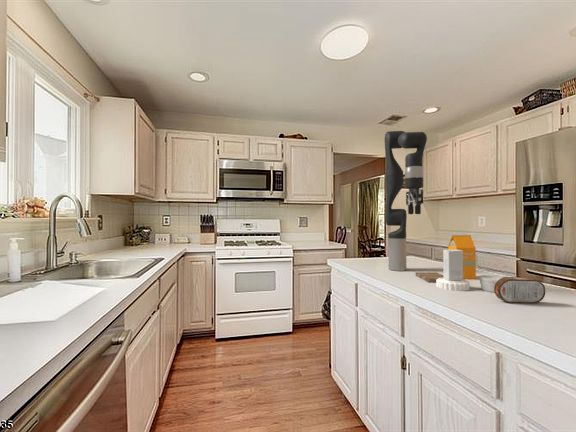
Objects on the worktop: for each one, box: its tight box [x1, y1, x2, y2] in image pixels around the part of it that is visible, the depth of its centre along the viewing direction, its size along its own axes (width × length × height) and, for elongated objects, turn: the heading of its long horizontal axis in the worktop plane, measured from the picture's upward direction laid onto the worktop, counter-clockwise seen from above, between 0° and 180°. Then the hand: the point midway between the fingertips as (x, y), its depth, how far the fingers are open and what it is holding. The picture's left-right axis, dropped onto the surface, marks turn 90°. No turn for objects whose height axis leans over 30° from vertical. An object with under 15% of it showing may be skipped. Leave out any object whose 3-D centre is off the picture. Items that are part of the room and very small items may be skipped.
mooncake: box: [435, 278, 471, 292], centre depth 123 cm, size 12×12×4 cm
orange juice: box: [447, 234, 477, 280], centre depth 143 cm, size 8×9×20 cm
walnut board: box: [415, 271, 443, 284], centre depth 140 cm, size 16×10×2 cm, turn 176°
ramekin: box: [478, 274, 506, 294], centre depth 117 cm, size 11×11×5 cm
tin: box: [494, 276, 546, 304], centre depth 101 cm, size 15×3×8 cm, turn 84°
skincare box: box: [442, 249, 463, 281], centre depth 122 cm, size 6×4×12 cm
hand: (414, 214), depth 132 cm, fingers open, 8 cm apart
